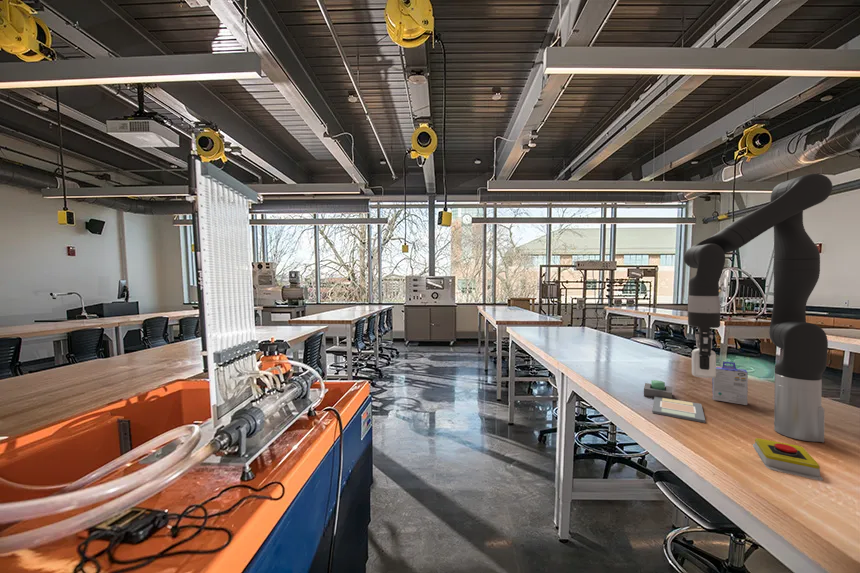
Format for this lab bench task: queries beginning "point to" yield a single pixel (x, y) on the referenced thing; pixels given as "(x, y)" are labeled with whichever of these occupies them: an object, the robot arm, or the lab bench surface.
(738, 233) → the robot arm
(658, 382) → the button
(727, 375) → the ink cartridge box
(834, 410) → the lab bench surface
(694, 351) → the eye dropper bottle
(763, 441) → the emergency button
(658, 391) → the button housing
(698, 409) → the colouring board
